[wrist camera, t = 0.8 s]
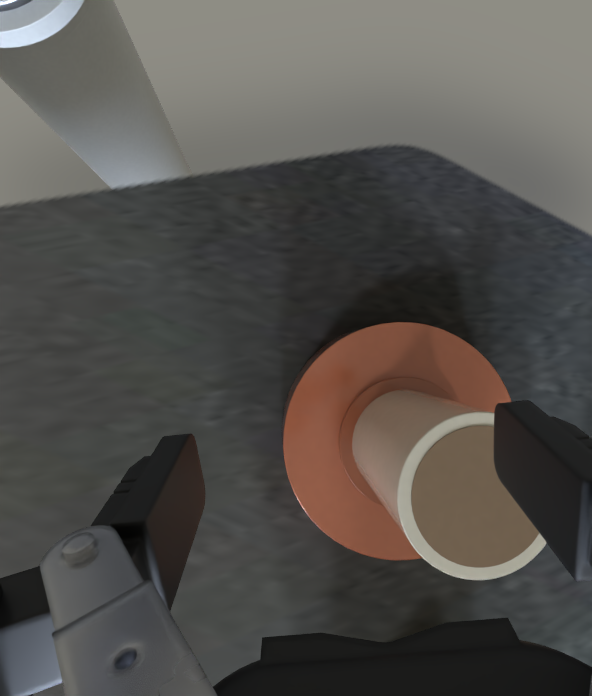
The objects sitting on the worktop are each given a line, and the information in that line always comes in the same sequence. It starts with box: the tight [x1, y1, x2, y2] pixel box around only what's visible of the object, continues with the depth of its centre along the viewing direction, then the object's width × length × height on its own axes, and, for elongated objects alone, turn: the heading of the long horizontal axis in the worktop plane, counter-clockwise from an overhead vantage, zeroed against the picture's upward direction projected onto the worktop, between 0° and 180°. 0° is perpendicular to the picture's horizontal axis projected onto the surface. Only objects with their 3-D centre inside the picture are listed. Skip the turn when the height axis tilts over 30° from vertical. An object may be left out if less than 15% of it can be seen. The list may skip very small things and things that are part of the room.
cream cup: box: [352, 389, 547, 580], centre depth 20 cm, size 6×6×9 cm
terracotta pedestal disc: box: [282, 322, 511, 560], centre depth 27 cm, size 14×14×4 cm
